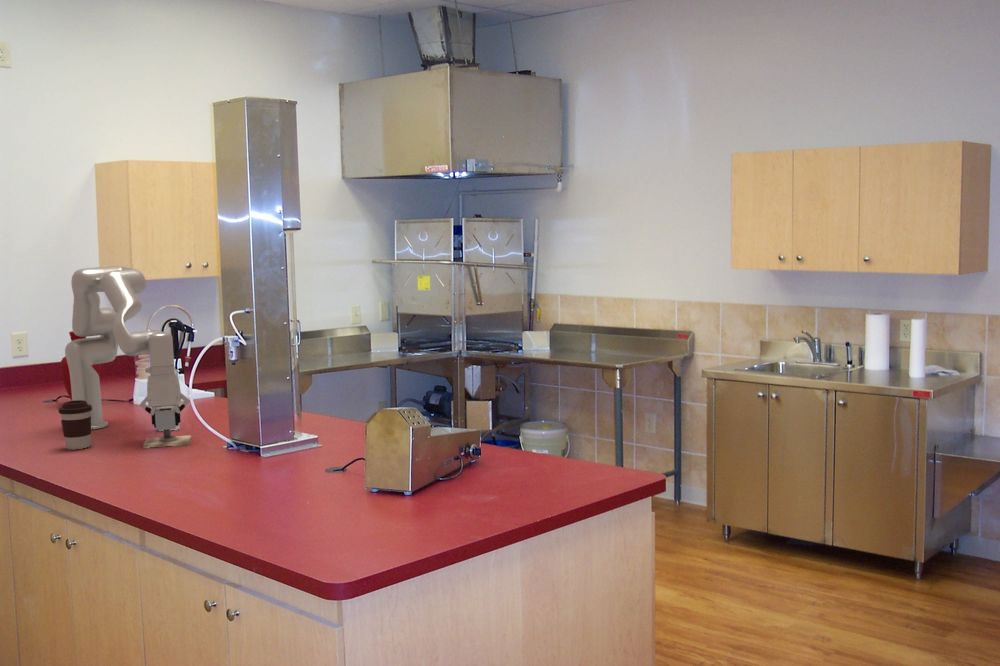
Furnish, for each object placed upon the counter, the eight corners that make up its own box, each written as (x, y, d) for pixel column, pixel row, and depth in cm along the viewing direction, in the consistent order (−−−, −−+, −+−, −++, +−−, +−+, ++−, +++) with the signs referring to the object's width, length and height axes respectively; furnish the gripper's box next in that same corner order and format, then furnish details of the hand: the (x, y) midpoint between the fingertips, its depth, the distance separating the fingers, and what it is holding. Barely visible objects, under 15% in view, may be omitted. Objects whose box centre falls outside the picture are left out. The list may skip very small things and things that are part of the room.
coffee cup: (83, 451, 328) (79, 404, 326) (55, 451, 330) (51, 404, 328) (101, 444, 338) (97, 399, 336) (73, 444, 340) (70, 399, 338)
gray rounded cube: (156, 430, 331) (154, 411, 330) (157, 426, 337) (156, 408, 336) (175, 428, 332) (174, 410, 332) (177, 425, 338) (175, 407, 337)
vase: (66, 411, 402) (60, 334, 398) (61, 405, 414) (55, 331, 411) (106, 406, 409) (100, 331, 406) (100, 401, 422) (94, 328, 418)
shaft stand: (143, 448, 329) (141, 424, 328) (146, 442, 338) (144, 418, 338) (189, 445, 332) (187, 420, 331) (191, 438, 342) (189, 414, 341)
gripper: (132, 374, 327) (137, 430, 329) (189, 370, 331) (193, 425, 333) (135, 371, 334) (139, 425, 336) (191, 367, 338) (195, 421, 340)
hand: (166, 425), depth 334 cm, fingers closed on gray rounded cube, 6 cm apart
